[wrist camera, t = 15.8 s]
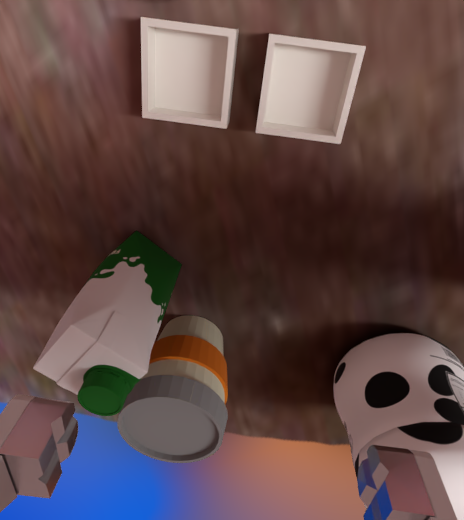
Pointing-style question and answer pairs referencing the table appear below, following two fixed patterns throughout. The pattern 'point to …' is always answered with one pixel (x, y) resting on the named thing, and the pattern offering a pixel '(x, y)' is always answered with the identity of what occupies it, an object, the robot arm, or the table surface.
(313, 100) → the white open square tray
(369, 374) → the milk container
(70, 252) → the table surface
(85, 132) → the table surface
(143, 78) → the white square cubby
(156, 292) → the milk carton
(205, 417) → the reusable coffee cup
